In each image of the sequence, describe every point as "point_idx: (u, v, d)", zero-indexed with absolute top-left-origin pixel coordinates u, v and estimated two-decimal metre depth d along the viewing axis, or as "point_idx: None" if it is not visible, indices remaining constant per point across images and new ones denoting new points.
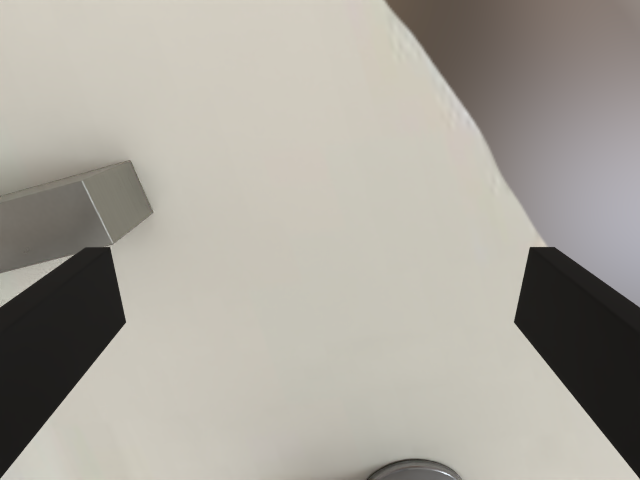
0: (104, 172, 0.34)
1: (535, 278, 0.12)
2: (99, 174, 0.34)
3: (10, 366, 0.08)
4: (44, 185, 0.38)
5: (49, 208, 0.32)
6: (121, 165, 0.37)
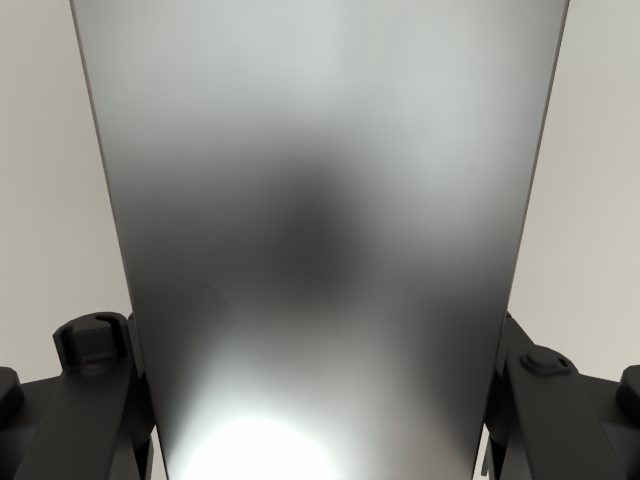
0: None
1: None
2: None
3: None
4: None
5: None
6: None
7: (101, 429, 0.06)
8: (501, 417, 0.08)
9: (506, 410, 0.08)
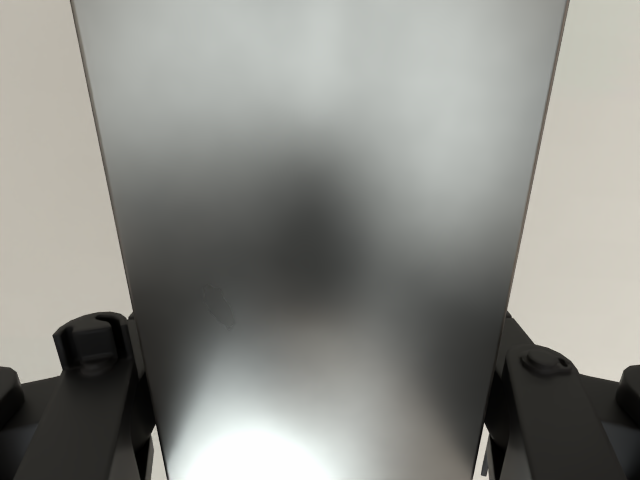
0: None
1: None
2: None
3: None
4: None
5: None
6: None
7: (101, 429, 0.06)
8: (501, 417, 0.08)
9: (506, 410, 0.08)
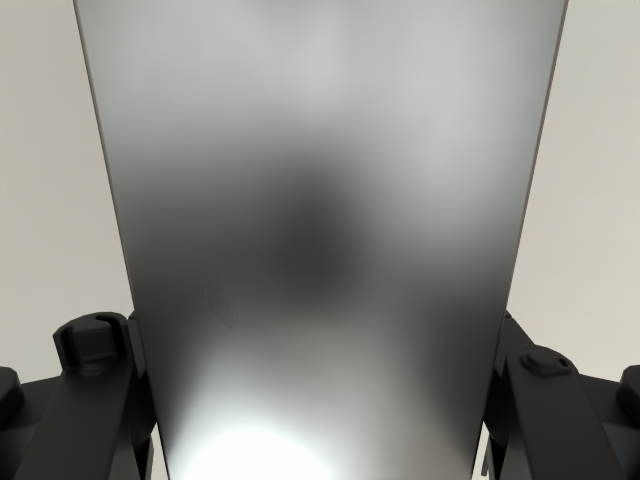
0: None
1: None
2: None
3: None
4: None
5: None
6: None
7: (101, 429, 0.06)
8: (501, 417, 0.08)
9: (506, 410, 0.08)
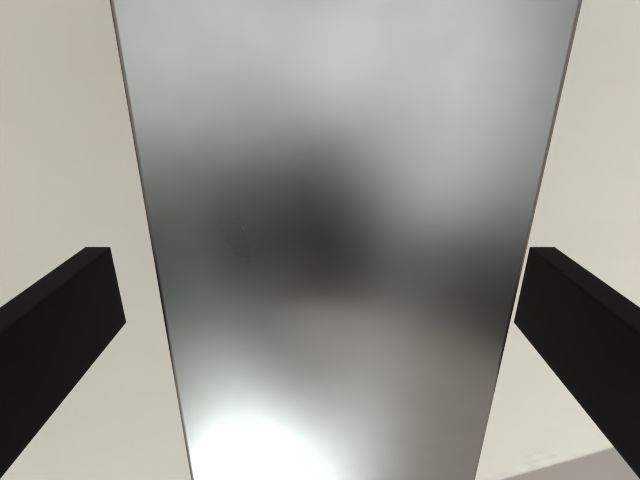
0: None
1: (535, 278, 0.12)
2: None
3: (10, 366, 0.08)
4: None
5: (412, 426, 0.07)
6: None
7: None
8: None
9: None
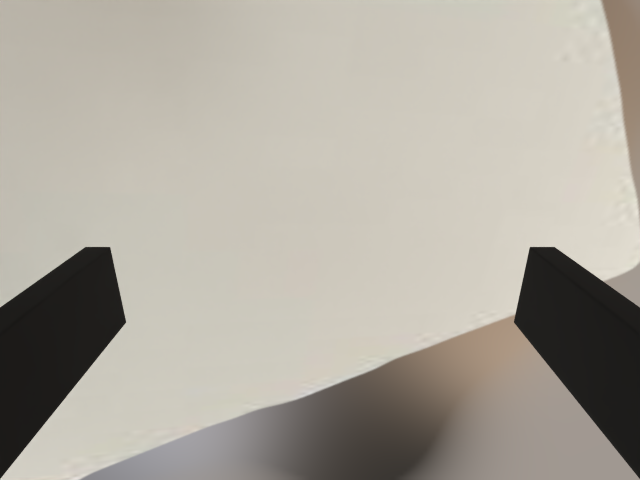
0: None
1: (535, 278, 0.12)
2: None
3: (10, 366, 0.08)
4: None
5: None
6: None
7: None
8: None
9: None
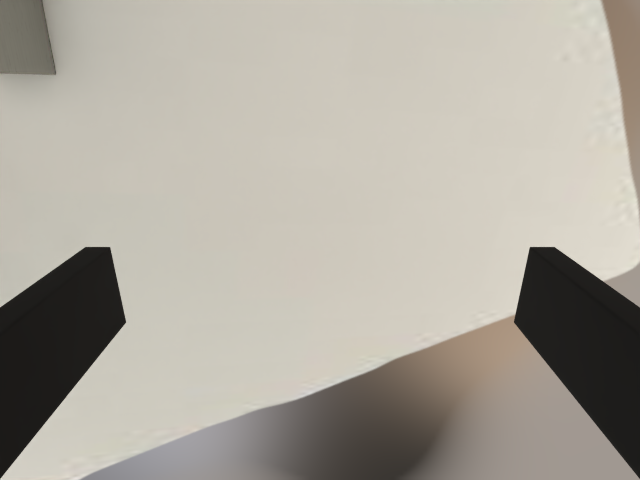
0: (15, 73, 0.32)
1: (535, 278, 0.12)
2: (7, 73, 0.31)
3: (10, 366, 0.08)
4: None
5: None
6: None
7: None
8: None
9: None
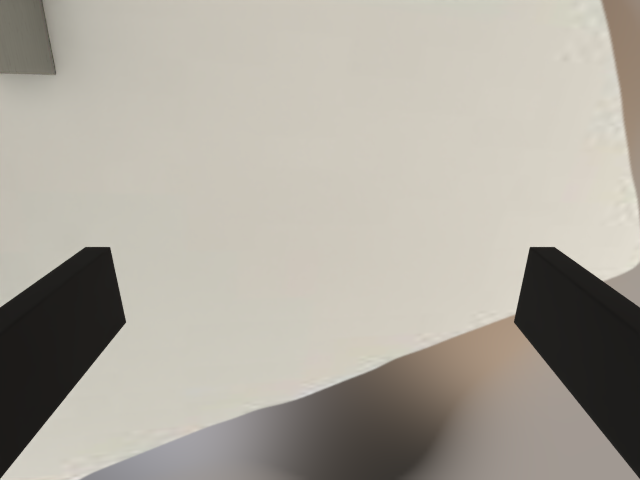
0: (15, 73, 0.32)
1: (535, 278, 0.12)
2: (7, 73, 0.31)
3: (10, 366, 0.08)
4: None
5: None
6: None
7: None
8: None
9: None
